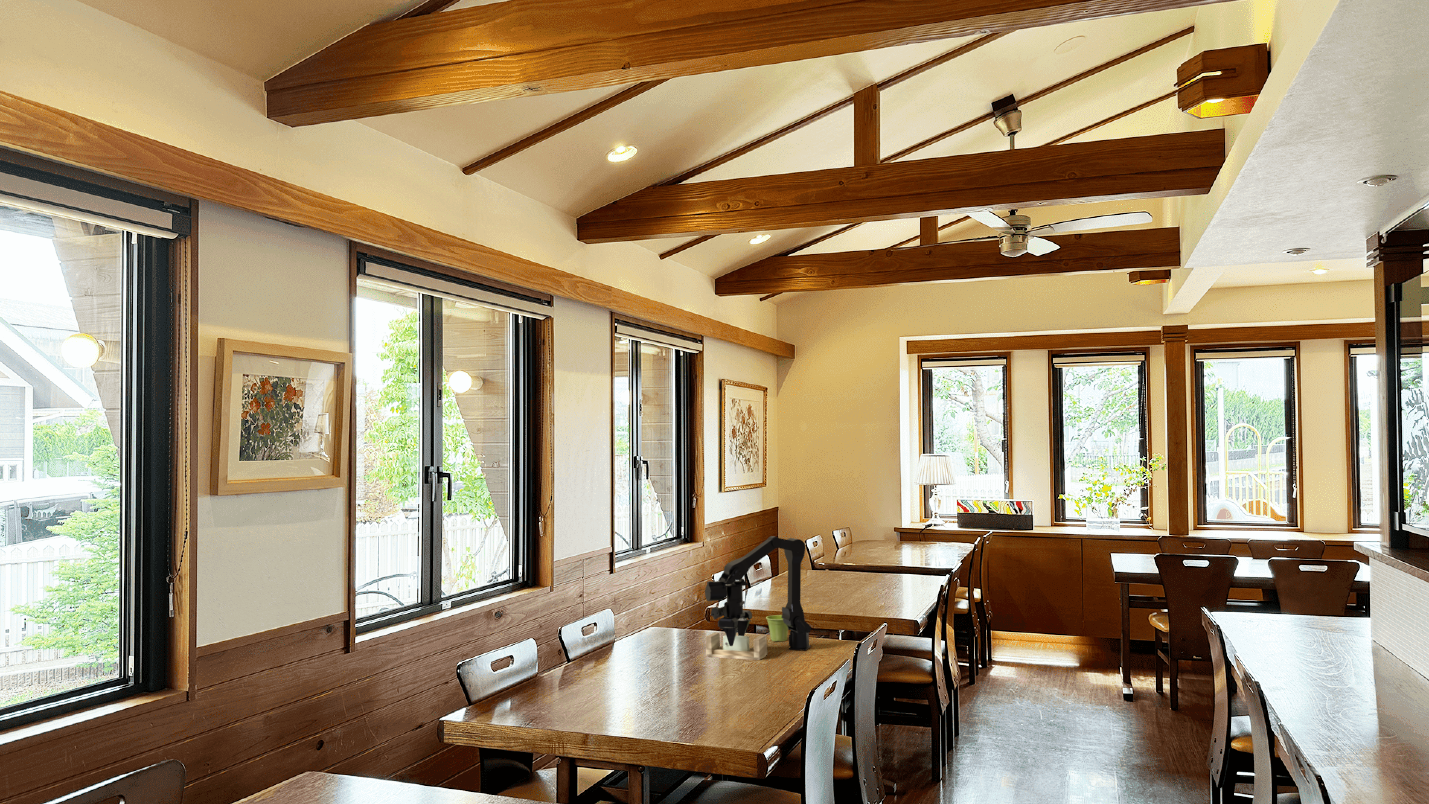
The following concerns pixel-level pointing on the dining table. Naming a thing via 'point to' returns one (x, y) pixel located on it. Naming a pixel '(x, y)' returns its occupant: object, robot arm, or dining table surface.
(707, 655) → the wooden u-shaped holder
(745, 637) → the pale green rectangular block
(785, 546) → the robot arm
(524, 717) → the dining table surface
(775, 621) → the plant pot
